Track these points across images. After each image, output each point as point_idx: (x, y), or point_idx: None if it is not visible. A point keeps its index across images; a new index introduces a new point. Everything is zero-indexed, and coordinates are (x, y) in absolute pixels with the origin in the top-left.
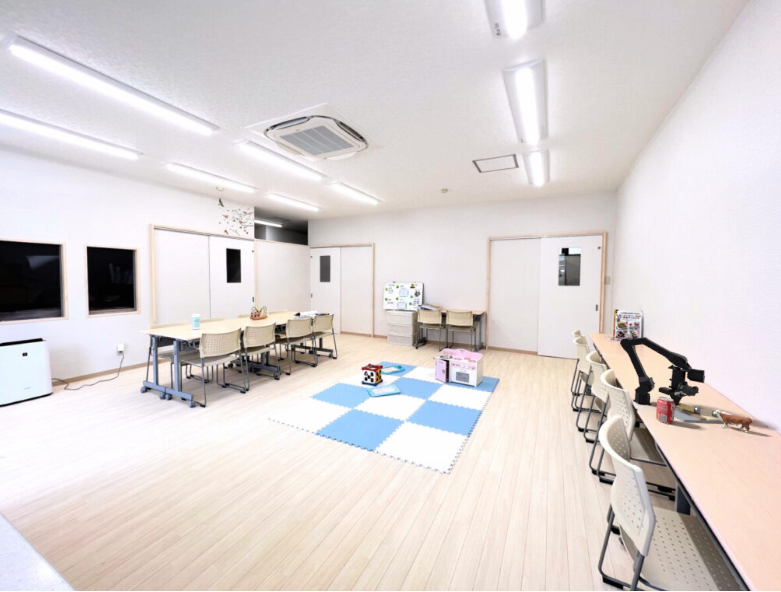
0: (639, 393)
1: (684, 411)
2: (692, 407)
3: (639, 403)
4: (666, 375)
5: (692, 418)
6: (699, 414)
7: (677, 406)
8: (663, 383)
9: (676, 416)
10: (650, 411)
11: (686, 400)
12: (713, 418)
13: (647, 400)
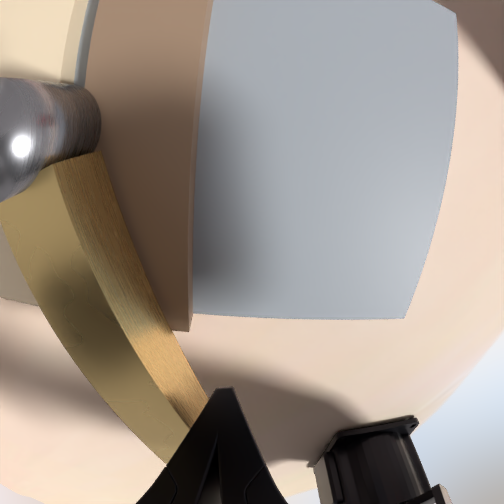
0: (444, 489)
1: (189, 256)
2: (42, 238)
3: (417, 425)
4: (35, 498)
5: (293, 1)
6: None
7: (198, 384)
8: (57, 498)
9: (448, 127)
10: (489, 306)
11: (20, 434)
12: (8, 5)
13: (370, 460)
